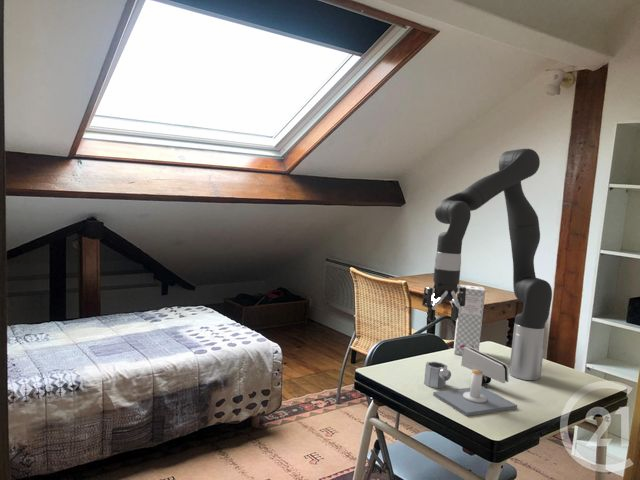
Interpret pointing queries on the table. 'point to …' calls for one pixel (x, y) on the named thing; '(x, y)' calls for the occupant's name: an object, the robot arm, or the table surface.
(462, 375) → the table surface
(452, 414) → the table surface
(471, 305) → the box
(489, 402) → the panel
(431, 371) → the grey octagonal hollow block
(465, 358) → the bracket
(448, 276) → the robot arm
